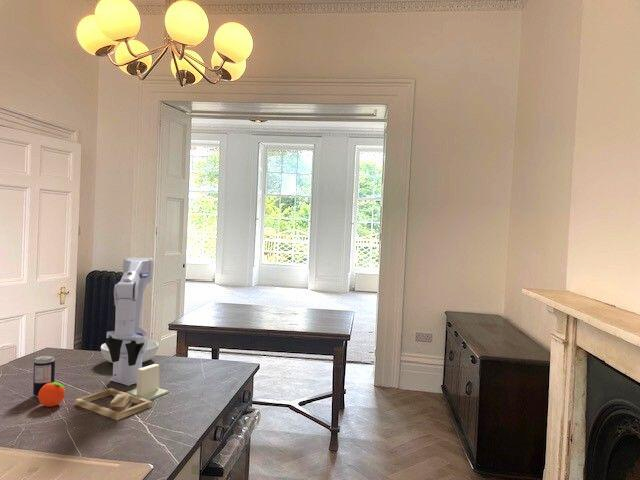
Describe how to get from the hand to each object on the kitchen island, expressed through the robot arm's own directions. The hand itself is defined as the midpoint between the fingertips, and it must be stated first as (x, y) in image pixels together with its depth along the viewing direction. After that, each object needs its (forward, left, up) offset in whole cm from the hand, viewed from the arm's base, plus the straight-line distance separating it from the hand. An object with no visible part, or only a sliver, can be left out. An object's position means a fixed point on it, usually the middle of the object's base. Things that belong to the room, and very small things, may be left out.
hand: (123, 363), depth 147 cm
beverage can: (-20, -14, -11) cm, 26 cm away
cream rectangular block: (+4, +6, -10) cm, 12 cm away
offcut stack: (+9, -7, -11) cm, 15 cm away
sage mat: (+4, +6, -10) cm, 13 cm away
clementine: (-10, -16, -11) cm, 22 cm away
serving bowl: (-28, +24, -11) cm, 38 cm away
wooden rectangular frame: (+4, -7, -10) cm, 13 cm away
